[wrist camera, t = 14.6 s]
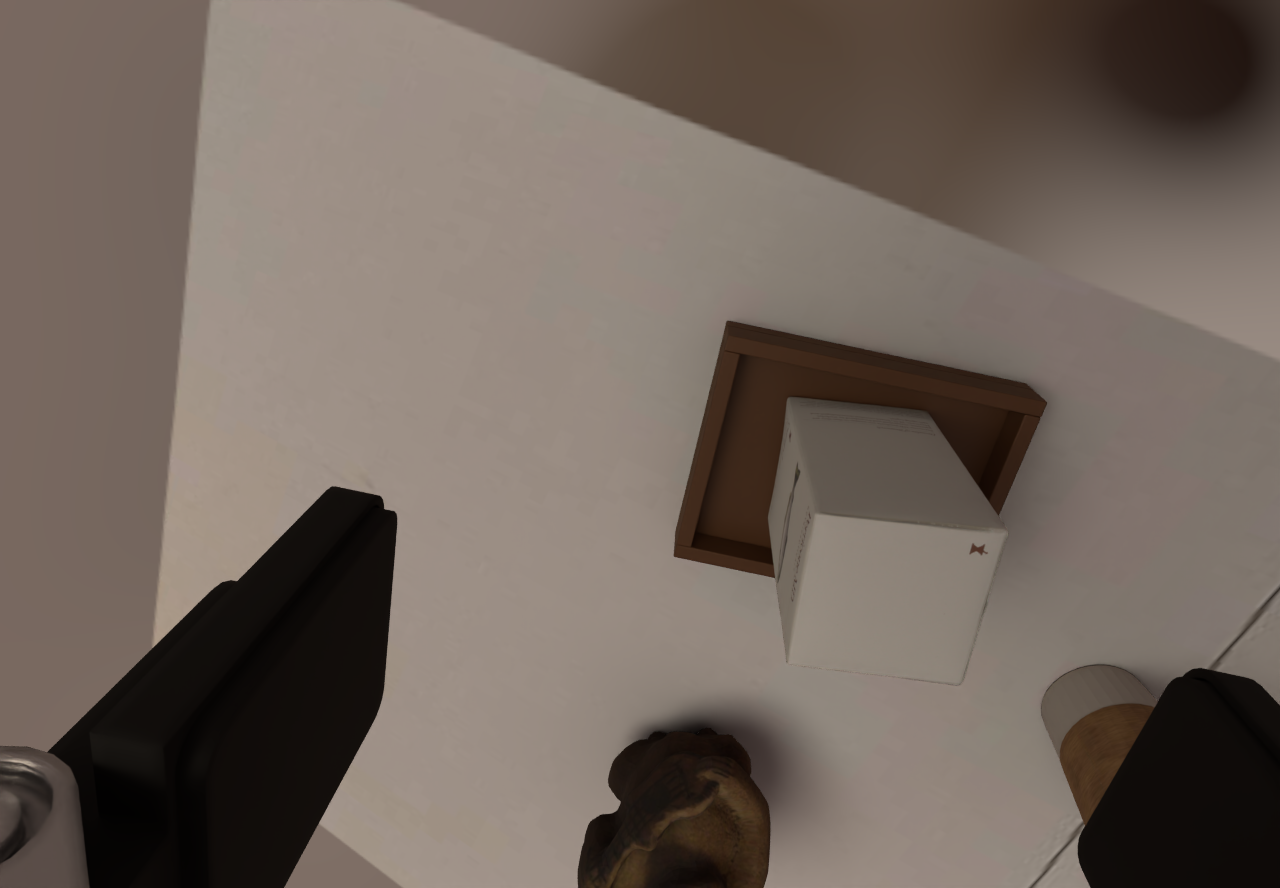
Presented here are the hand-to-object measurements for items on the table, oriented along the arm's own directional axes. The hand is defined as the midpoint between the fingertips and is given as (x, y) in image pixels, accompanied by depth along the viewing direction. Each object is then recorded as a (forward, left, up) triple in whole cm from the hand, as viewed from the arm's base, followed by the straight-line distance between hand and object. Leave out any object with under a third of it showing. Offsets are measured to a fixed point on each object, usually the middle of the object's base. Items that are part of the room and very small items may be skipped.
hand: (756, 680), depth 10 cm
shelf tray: (+10, +9, -32) cm, 35 cm away
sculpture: (+32, +5, -32) cm, 46 cm away
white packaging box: (+10, +9, -32) cm, 34 cm away
